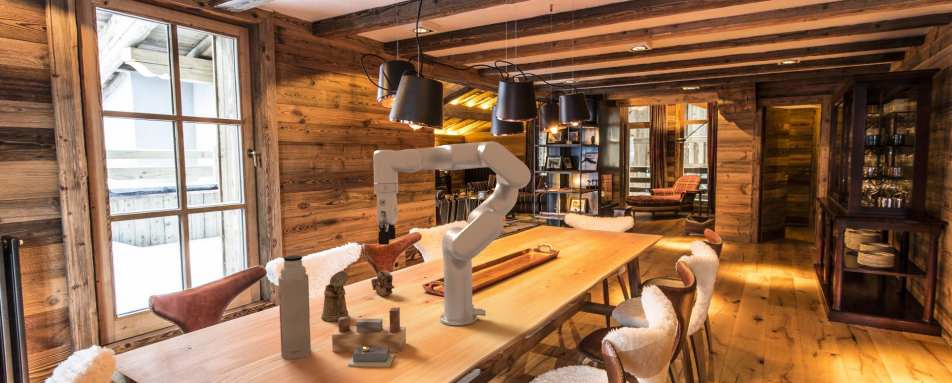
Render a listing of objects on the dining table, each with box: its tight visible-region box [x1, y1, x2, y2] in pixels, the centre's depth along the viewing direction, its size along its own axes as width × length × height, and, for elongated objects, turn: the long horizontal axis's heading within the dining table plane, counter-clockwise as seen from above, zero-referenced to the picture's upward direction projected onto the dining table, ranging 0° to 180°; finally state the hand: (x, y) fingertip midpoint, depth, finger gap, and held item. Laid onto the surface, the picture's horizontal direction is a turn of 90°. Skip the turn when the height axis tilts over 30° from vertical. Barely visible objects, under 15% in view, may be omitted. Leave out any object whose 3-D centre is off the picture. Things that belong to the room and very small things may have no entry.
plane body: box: [331, 307, 407, 353], centre depth 148 cm, size 20×7×11 cm, turn 87°
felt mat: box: [347, 353, 395, 368], centre depth 139 cm, size 11×7×1 cm, turn 87°
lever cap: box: [352, 346, 391, 362], centre depth 139 cm, size 9×5×3 cm, turn 88°
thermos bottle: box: [277, 254, 312, 360], centre depth 144 cm, size 8×8×28 cm
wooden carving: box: [370, 269, 395, 297], centre depth 204 cm, size 16×5×10 cm, turn 41°
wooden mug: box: [321, 271, 349, 322], centre depth 174 cm, size 9×14×18 cm, turn 30°
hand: (387, 241), depth 163 cm, fingers open, 9 cm apart
